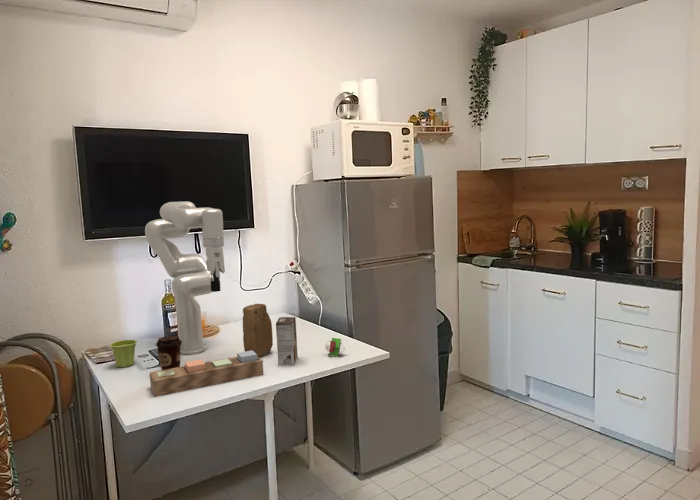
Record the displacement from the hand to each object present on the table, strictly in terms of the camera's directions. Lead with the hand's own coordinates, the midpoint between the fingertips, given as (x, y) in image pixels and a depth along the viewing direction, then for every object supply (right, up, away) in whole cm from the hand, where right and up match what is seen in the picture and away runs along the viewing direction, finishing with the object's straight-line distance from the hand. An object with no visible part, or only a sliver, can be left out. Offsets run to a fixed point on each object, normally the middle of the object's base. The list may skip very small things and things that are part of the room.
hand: (215, 291), depth 197 cm
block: (+14, -26, +11) cm, 32 cm away
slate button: (+14, -25, -11) cm, 31 cm away
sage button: (+6, -27, -15) cm, 32 cm away
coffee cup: (-14, -29, -7) cm, 33 cm away
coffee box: (+27, -27, 0) cm, 38 cm away
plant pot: (-35, -29, +4) cm, 46 cm away
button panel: (+2, -29, -17) cm, 34 cm away
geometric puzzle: (+45, -25, +6) cm, 52 cm away
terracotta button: (-2, -27, -19) cm, 33 cm away
